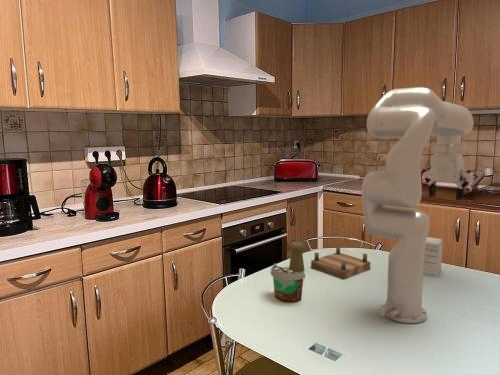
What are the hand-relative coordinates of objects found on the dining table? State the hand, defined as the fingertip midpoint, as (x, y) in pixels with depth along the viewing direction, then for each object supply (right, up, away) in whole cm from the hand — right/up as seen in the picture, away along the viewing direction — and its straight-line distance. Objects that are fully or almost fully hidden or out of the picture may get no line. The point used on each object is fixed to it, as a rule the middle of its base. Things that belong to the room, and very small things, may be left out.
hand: (445, 197), depth 141 cm
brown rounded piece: (-52, -29, +12) cm, 60 cm away
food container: (-59, -33, -14) cm, 69 cm away
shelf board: (-35, -28, +13) cm, 46 cm away
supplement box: (-2, -29, +8) cm, 30 cm away
